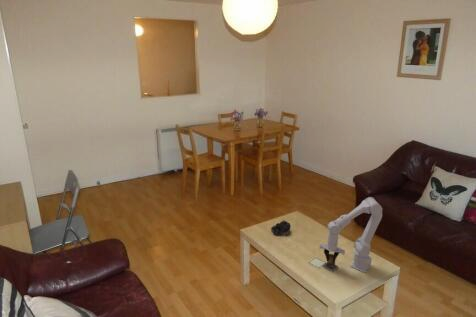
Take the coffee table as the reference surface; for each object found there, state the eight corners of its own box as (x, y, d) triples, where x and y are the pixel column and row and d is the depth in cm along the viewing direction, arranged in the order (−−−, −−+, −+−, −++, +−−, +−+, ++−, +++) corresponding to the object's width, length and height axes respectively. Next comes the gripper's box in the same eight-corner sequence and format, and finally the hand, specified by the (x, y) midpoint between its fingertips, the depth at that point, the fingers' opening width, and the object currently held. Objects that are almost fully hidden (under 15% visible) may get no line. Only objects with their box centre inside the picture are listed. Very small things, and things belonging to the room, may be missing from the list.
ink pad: (338, 267, 205) (338, 265, 205) (332, 272, 201) (333, 270, 201) (328, 262, 210) (328, 260, 210) (322, 266, 206) (322, 265, 206)
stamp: (335, 264, 206) (335, 254, 204) (333, 268, 203) (334, 258, 200) (327, 262, 208) (328, 252, 206) (326, 266, 204) (326, 256, 202)
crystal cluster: (268, 230, 249) (267, 219, 245) (283, 224, 254) (283, 213, 250) (277, 240, 238) (277, 228, 234) (293, 234, 243) (294, 223, 239)
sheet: (327, 262, 210) (327, 262, 210) (319, 269, 204) (319, 268, 204) (315, 256, 216) (315, 256, 216) (306, 262, 210) (306, 262, 210)
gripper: (346, 241, 200) (344, 260, 204) (322, 235, 207) (320, 254, 211) (344, 247, 194) (342, 267, 198) (319, 240, 201) (317, 260, 205)
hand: (330, 261), depth 204 cm, fingers closed on stamp, 3 cm apart
